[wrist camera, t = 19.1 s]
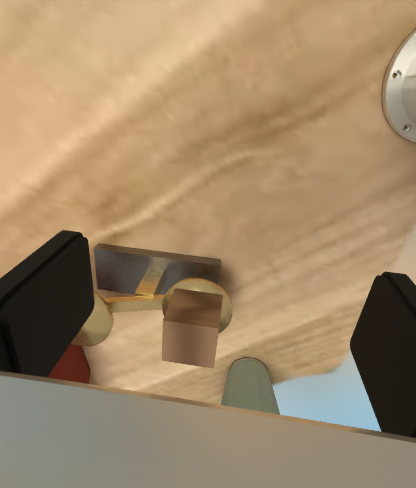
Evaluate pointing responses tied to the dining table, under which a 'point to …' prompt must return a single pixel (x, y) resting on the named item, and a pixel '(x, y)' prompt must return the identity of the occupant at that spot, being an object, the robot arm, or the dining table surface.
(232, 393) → the disposable coffee cup
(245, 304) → the dining table surface
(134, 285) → the balance
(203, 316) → the walnut block
